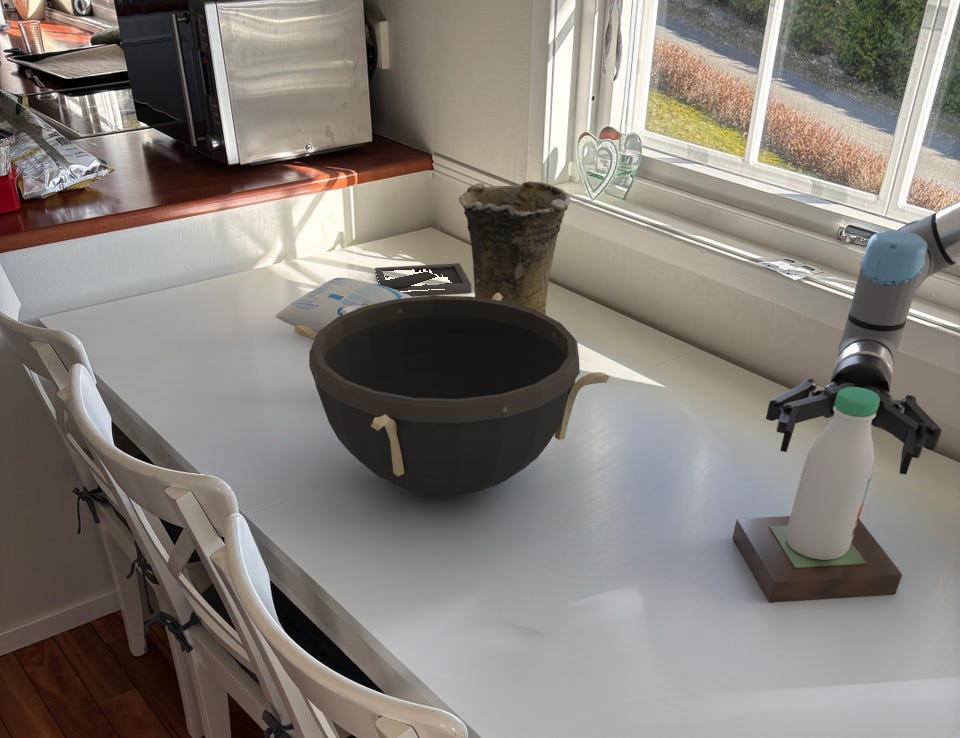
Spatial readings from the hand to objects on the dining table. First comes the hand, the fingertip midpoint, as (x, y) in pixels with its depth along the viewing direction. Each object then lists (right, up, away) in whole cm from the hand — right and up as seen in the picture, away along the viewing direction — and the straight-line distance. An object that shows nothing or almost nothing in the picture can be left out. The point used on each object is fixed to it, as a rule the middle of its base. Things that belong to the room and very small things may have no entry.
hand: (844, 452), depth 111 cm
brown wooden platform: (-1, -12, +9) cm, 16 cm away
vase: (-38, +30, +60) cm, 77 cm away
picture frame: (-55, +52, +86) cm, 114 cm away
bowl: (-47, +1, +25) cm, 54 cm away
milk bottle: (-1, -10, +7) cm, 13 cm away
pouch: (-67, +36, +67) cm, 101 cm away
